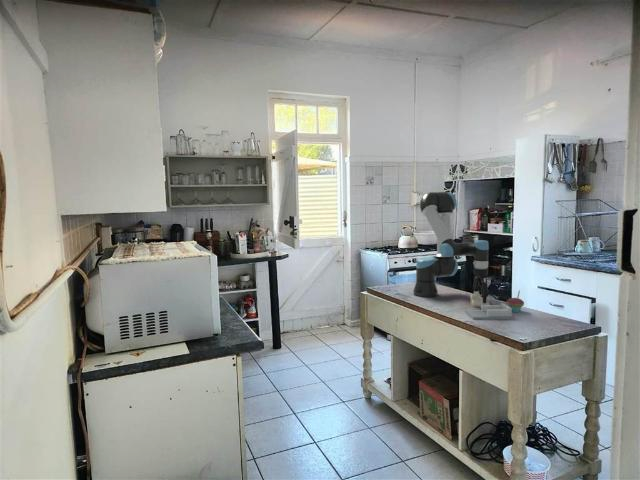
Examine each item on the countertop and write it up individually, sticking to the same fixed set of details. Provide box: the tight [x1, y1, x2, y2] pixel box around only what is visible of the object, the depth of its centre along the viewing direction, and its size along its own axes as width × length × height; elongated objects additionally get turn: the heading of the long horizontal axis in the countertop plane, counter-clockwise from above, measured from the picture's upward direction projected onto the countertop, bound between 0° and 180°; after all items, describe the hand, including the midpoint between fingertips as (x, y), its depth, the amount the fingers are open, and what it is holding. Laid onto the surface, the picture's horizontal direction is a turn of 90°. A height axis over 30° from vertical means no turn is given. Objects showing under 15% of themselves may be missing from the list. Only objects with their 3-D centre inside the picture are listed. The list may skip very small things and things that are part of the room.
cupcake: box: [506, 289, 525, 313], centre depth 223 cm, size 9×8×12 cm
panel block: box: [469, 294, 491, 308], centre depth 235 cm, size 5×9×6 cm, turn 88°
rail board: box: [464, 302, 515, 321], centre depth 216 cm, size 14×20×5 cm
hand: (479, 305), depth 235 cm, fingers open, 12 cm apart
